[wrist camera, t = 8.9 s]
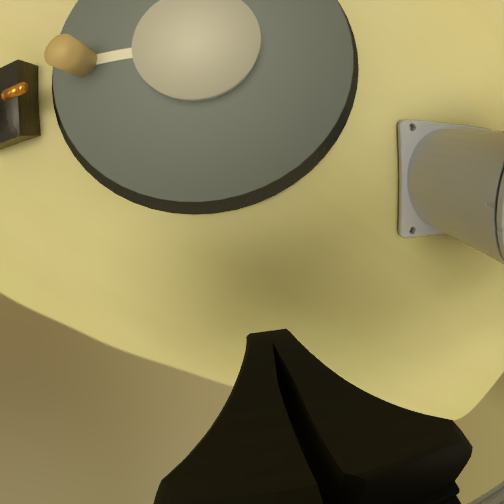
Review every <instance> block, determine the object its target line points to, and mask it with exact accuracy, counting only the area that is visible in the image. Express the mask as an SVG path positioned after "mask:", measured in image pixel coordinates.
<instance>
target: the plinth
mask: <svg viewBox="0 0 504 504" xmlns="http://www.w3.org/2000/svg"><path fill="white" fill-rule="evenodd" d="M337 1H338V0H337ZM338 3H339V2H338ZM339 5H340V4H339ZM340 7H341V5H340ZM341 9H342V7H341ZM342 11H343V9H342ZM343 13H344V11H343ZM344 15H345V13H344ZM345 18H346V20H347V24H348V27H349V30H350V34H351V39H352V46H353V74H352V81H351V87H350V91H349V94H348V97H347V100H346V103H345V106H344V108H343V110H342V112H341V114H340V116H339V118H338V121H337V122H336V124H335V125H334V127H333V128H332V130H331V131H330V133H329V134H328V136H327V138H326V139H325V140H324V141H323V142H322V143H321V144H320V146H319V147H318V148H317V149H316V150H315V151H314V152H313V153H312V154H311V155H310V156H309V157H308V158H307V159H306V160H304V161H303V162H302V163H301V164H300V165H299V166H298V167H296V168H295V169H293V170H292V171H290V172H289V173H287V174H286V175H284V176H283V177H281V178H279V179H277V180H275V181H274V182H272V183H270V184H268V185H266V186H264V187H262V188H259V189H256V190H253V191H251V192H248V193H245V194H243V195H239V196H234V197H230V198H226V199H222V200H212V201H204V202H179V201H171V200H164V199H158V198H154V197H151V196H147V195H143V194H140V193H137V192H135V191H132V190H130V189H128V188H125V187H123V186H121V185H119V184H117V183H116V182H114V181H112V180H111V179H109V178H107V177H106V176H104V175H103V174H102V173H101V172H99V171H98V170H97V169H95V168H94V167H93V166H92V165H91V164H90V163H89V162H88V161H87V160H86V159H85V158H84V157H83V156H82V155H81V154H80V153H79V151H78V150H77V149H76V147H75V146H74V144H73V143H72V141H71V140H70V138H69V137H68V135H67V133H66V131H65V129H64V127H63V125H62V123H61V120H60V117H59V114H58V111H57V108H56V104H55V98H54V91H53V75H52V94H53V104H54V109H55V113H56V117H57V121H58V125H59V127H60V129H61V132H62V134H63V137H64V139H65V141H66V143H67V144H68V146H69V148H70V150H71V151H72V153H73V154H74V156H75V157H76V159H77V160H78V161H79V162H80V163H81V165H82V166H83V167H84V168H85V170H86V171H88V172H89V173H90V174H91V175H92V176H93V177H94V178H95V179H96V180H97V181H98V182H100V183H101V184H102V185H104V186H105V187H107V188H108V189H110V190H111V191H113V192H114V193H115V194H117V195H119V196H121V197H123V198H125V199H127V200H129V201H131V202H134V203H136V204H139V205H142V206H145V207H148V208H151V209H155V210H160V211H165V212H170V213H180V214H213V213H220V212H225V211H231V210H236V209H240V208H243V207H246V206H250V205H253V204H256V203H258V202H261V201H263V200H265V199H268V198H270V197H272V196H274V195H276V194H278V193H280V192H281V191H283V190H285V189H286V188H288V187H290V186H291V185H293V184H294V183H296V182H297V181H298V180H300V179H301V178H302V177H303V176H305V175H306V174H307V173H309V172H310V171H311V170H312V169H313V168H314V167H315V166H316V165H317V164H318V163H319V162H320V161H321V160H322V159H323V158H324V157H325V155H326V154H327V153H328V151H329V150H330V149H331V147H332V146H333V145H334V143H335V142H336V141H337V139H338V137H339V135H340V134H341V132H342V130H343V128H344V126H345V125H346V122H347V120H348V117H349V115H350V112H351V110H352V107H353V103H354V99H355V94H356V90H357V82H358V55H357V48H356V44H355V39H354V35H353V32H352V29H351V26H350V24H349V21H348V18H347V16H346V15H345Z"/></svg>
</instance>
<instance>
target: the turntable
mask: <svg viewBox="0 0 504 504" xmlns="http://www.w3.org/2000/svg"><path fill="white" fill-rule="evenodd" d="M45 60H46V62H47V63H48V64H49V65H51V66H53V91H54V98H55V104H56V108H57V111H58V114H59V117H60V120H61V123H62V125H63V127H64V129H65V131H66V133H67V135H68V137H69V138H70V140H71V141H72V143H73V144H74V146H75V147H76V149H77V150H78V151H79V153H80V154H81V155H82V156H83V157H84V158H85V159H86V160H87V161H88V162H89V163H90V164H91V165H92V166H93V167H94V168H95V169H97V170H98V171H99V172H101V173H102V174H103V175H104V176H106V177H107V178H109V179H111V180H112V181H114V182H116V183H117V184H119V185H121V186H123V187H125V188H128V189H130V190H132V191H135V192H137V193H140V194H143V195H147V196H151V197H154V198H158V199H164V200H171V201H179V202H204V201H212V200H222V199H226V198H230V197H234V196H239V195H243V194H245V193H248V192H251V191H253V190H256V189H259V188H262V187H264V186H266V185H268V184H270V183H272V182H274V181H275V180H277V179H279V178H281V177H283V176H284V175H286V174H287V173H289V172H290V171H292V170H293V169H295V168H296V167H298V166H299V165H300V164H301V163H302V162H303V161H304V160H306V159H307V158H308V157H309V156H310V155H311V154H312V153H313V152H314V151H315V150H316V149H317V148H318V147H319V146H320V144H321V143H322V142H323V141H324V140H325V139H326V138H327V136H328V134H329V133H330V131H331V130H332V128H333V127H334V125H335V124H336V122H337V121H338V118H339V116H340V114H341V112H342V110H343V108H344V106H345V103H346V100H347V97H348V94H349V91H350V87H351V81H352V74H353V46H352V39H351V34H350V30H349V27H348V24H347V20H346V18H345V15H344V13H343V11H342V9H341V7H340V5H339V3H338V1H337V0H78V2H77V3H76V4H75V6H74V8H73V9H72V11H71V13H70V15H69V16H68V18H67V20H66V22H65V25H64V27H63V29H62V32H61V34H60V35H58V36H56V37H54V38H53V39H52V40H51V41H50V42H49V44H48V45H47V47H46V50H45Z"/></svg>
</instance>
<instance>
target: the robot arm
mask: <svg viewBox="0 0 504 504" xmlns="http://www.w3.org/2000/svg"><path fill="white" fill-rule="evenodd" d="M410 124H411V125H412V127H413V129H412V131H411V130H410V128H409V126H410ZM397 127H398V147H399V224H398V233H399V235H400V236H402V237H403V238H410V237H419V236H428V235H436V234H445V233H446V234H448V235H450V236H452V237H454V238H456V239H458V240H460V241H462V242H464V243H465V244H467V245H469V246H471V247H473V248H475V249H477V250H479V251H481V252H483V253H484V254H486V255H488V256H490V257H492V258H494V259H496V260H497V261H499V262H501V263H503V264H504V131H492V130H491V129H485V128H479V127H472V126H465V125H457V124H449V123H440V122H430V121H419V120H407V119H405V120H400V121H399V122H398V126H397ZM411 227H413V230H412V232H410V228H411ZM246 338H247V344H246V351H245V355H244V359H243V362H242V366H241V369H240V372H239V375H238V377H237V380H236V382H235V385H234V387H233V389H232V392H231V394H230V396H229V398H228V400H227V402H226V404H225V406H224V407H223V409H222V411H221V412H220V414H219V416H218V417H217V419H216V420H215V422H214V423H213V425H212V427H211V428H210V429H209V431H208V432H207V433H206V435H205V436H204V437H203V438H202V440H201V441H200V442H199V443H198V444H197V446H196V447H195V448H194V449H193V450H192V451H191V452H190V454H189V455H188V456H187V457H186V458H185V459H184V460H183V461H182V462H181V463H180V464H179V465H178V466H177V467H176V468H175V469H173V470H172V471H171V472H170V473H169V474H168V475H167V476H166V477H165V478H163V479H162V481H161V483H160V485H159V488H158V491H157V493H156V497H155V500H154V504H461V503H460V501H459V499H458V498H457V496H456V495H457V494H458V493H459V488H458V486H457V484H456V483H455V480H456V478H457V477H458V476H459V474H460V473H461V471H462V470H463V468H464V467H465V465H466V464H467V462H468V460H469V459H470V457H471V454H472V446H471V444H470V443H469V441H468V440H467V438H466V437H465V435H464V434H463V432H462V431H461V430H460V428H459V427H458V426H457V425H456V424H455V423H454V422H453V420H449V419H444V418H439V417H434V416H430V415H425V414H421V413H418V412H414V411H411V410H408V409H405V408H402V407H399V406H396V405H394V404H391V403H389V402H386V401H384V400H382V399H379V398H377V397H375V396H373V395H371V394H369V393H367V392H365V391H363V390H361V389H359V388H358V387H356V386H354V385H353V384H351V383H349V382H347V381H346V380H344V379H343V378H342V377H340V376H339V375H337V374H336V373H335V372H333V371H332V370H331V369H329V368H328V367H327V366H325V365H324V364H323V363H322V362H321V361H319V360H318V359H317V358H316V357H315V356H314V355H313V354H311V353H310V352H309V351H308V350H307V349H306V348H305V347H304V346H303V345H302V344H301V343H300V342H299V341H298V340H297V339H296V338H295V337H294V336H293V335H292V334H291V333H290V331H288V330H287V329H281V330H274V331H266V332H259V333H251V334H249V335H248V336H247V337H246ZM468 504H504V481H503V482H502V483H500V484H499V485H497V486H496V487H494V488H493V489H491V490H489V491H488V492H486V493H485V494H483V495H482V496H480V497H478V498H477V499H475V500H473V501H472V502H470V503H468Z"/></svg>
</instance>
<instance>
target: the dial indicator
mask: <svg viewBox="0 0 504 504" xmlns="http://www.w3.org/2000/svg"><path fill="white" fill-rule="evenodd" d="M37 136H40V124H39V107H38V66H36V65H33V64H31V63H28V62H24V61H21V60H16V61H14V62H12V63H10V64H8V65H6V66H4V67H2V68H0V149H3V148H5V147H8V146H11V145H13V144H16V143H19V142H22V141H25V140H28V139H31V138H34V137H37Z"/></svg>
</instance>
